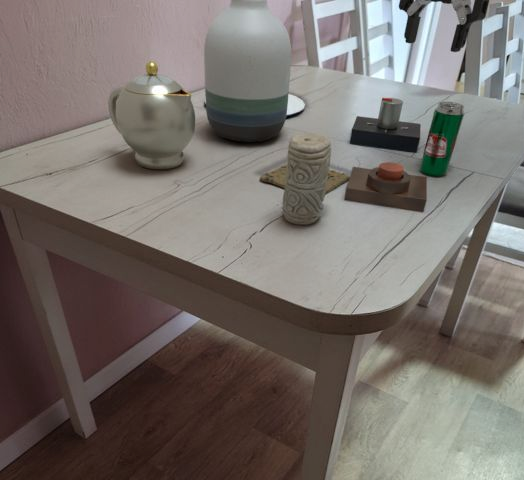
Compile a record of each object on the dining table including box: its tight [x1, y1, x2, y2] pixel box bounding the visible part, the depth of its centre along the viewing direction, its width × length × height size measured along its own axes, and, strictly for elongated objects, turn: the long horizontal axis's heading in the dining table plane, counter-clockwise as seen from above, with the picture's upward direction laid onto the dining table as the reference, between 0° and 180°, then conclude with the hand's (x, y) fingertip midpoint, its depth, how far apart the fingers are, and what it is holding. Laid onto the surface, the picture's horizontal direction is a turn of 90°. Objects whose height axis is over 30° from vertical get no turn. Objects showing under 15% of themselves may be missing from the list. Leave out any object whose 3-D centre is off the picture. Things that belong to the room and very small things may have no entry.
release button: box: [377, 161, 405, 181], centre depth 80 cm, size 4×4×2 cm
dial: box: [377, 97, 404, 129], centre depth 102 cm, size 4×4×5 cm
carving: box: [282, 134, 332, 226], centre depth 72 cm, size 6×8×12 cm
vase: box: [203, 0, 292, 143], centre depth 97 cm, size 17×17×24 cm
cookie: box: [259, 163, 350, 195], centre depth 87 cm, size 12×12×1 cm
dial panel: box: [349, 115, 422, 153], centre depth 105 cm, size 14×10×3 cm
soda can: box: [419, 101, 465, 178], centre depth 89 cm, size 5×5×12 cm
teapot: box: [107, 61, 196, 171], centre depth 85 cm, size 18×14×16 cm
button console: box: [344, 166, 428, 213], centre depth 83 cm, size 13×10×4 cm
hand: (431, 47), depth 81 cm, fingers open, 8 cm apart
